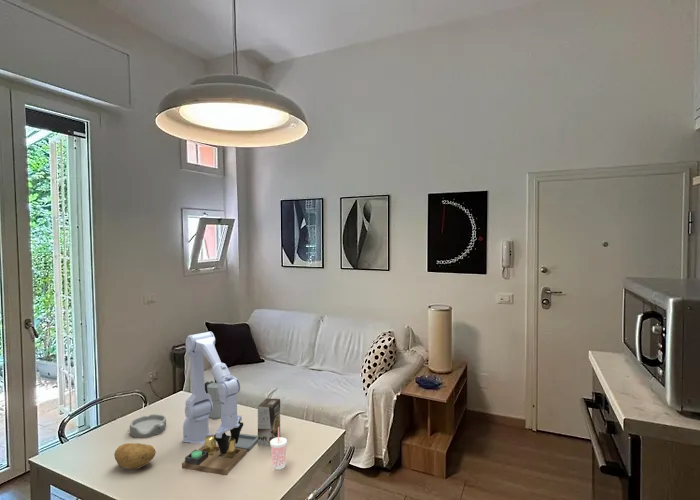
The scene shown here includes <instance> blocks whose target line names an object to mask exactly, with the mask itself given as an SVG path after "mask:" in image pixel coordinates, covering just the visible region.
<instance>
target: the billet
mask: <svg viewBox="0 0 700 500" xmlns="http://www.w3.org/2000/svg"><path fill="white" fill-rule="evenodd" d="M235 455H236V453H235V438H233V437H230V438H229V441H228V447H227V453H226V454H224V455H223V457H226V458H233V457H234V456H235Z"/></svg>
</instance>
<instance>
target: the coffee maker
mask: <svg viewBox="0 0 700 500" xmlns="http://www.w3.org/2000/svg"><path fill="white" fill-rule="evenodd" d="M213 380H214V381H213ZM213 380H211V381H210V382H209V381H206V382H205V393H207V394H209V395H210V396H211V399H212V403H213V411H212V413H210V416H209V419H210V420H218V419H220V420H221V401H220V399H219V393H218V384H217V382H216V380H215V378H214V377H213Z"/></svg>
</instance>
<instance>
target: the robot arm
mask: <svg viewBox="0 0 700 500" xmlns="http://www.w3.org/2000/svg"><path fill="white" fill-rule="evenodd" d="M215 344H216V337H215V334H214V333H213V332H212V331H207V332H200V333H195V334H194V333H193V334H189V335H187V337H186V339H185V352H186V355H189V357H188V358H189V367H190V368H189V371H190V383H191V395H190V396H189V397H188V398H187V399H186V400H185V408H184V414H185V415H184V416H185V417H186V418H185V419H184V421H183V425H182V434H183V438H182V441H181V442H182V443H188V444H189V443H190V444H191V443H194V444H201V445H202V444H205V437H206V436H209V435H214V439H215V440H216V444H217V445H218V446H219V449H220V452H221V454H226V453H227V447H228V441H229V438H230V436H231V437H233V438H235V443H236V444H237V443H238V439H239V435H240V434H241V431H242V429H243V426H244V422H241V421H242V418H243V417H242V416H243V415H241V414H238V394H239V393H240V391H241V383H240V381H239V379H238V378H237V377H235V376H234V375H232V374H231V371H230V370H229V367H228V366H227V364H226V363H224V362H222V361H221V359H220V356H219V354H218V352H217V349H216V345H215ZM203 356H205V358H206V359H207V361H208V363H209V364H210V365H211V367H212V369H211V374H212V377H213V379H214V378H215V380H216V382H217V384H218V393H219V399H220V401H221V418H220V420H221V421H220V425H219V427H218V429H217V430H216V432H215V434H213V433H209V432H210V427H209V426H210V425H209V421H210V420H209V419H210V418H209V416H210V413H212V411H213V403H212V399H211V396H210V395H209V394H207V393H206V392H205V383H206V382H205V373H204V371H205V369H204V358H203ZM215 380H214V381H215ZM229 431H230V435H227V434H226V433H227V432H229Z"/></svg>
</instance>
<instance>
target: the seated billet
mask: <svg viewBox="0 0 700 500" xmlns="http://www.w3.org/2000/svg"><path fill="white" fill-rule="evenodd" d="M214 435H215V434H213V435H212V434H210V435H209V436H206V437H205V442H204V444H205V451H208V455H212V456H213V455H214V454H215V453H216V452H217V450H216V445H217V441H216V440H215V439H214Z"/></svg>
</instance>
